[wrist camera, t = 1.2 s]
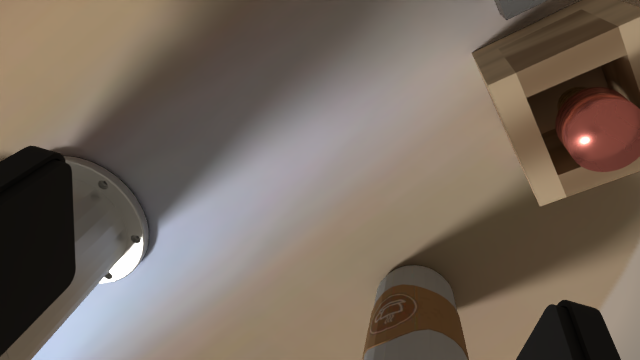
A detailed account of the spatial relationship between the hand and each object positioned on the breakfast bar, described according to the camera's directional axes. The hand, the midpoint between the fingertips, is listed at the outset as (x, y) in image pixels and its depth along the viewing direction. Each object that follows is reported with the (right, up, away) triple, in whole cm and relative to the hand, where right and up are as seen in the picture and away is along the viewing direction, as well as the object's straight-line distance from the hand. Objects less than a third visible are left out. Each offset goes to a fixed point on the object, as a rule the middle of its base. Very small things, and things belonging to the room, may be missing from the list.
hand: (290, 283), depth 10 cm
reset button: (+15, +6, +19) cm, 25 cm away
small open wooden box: (+16, +9, +24) cm, 30 cm away
